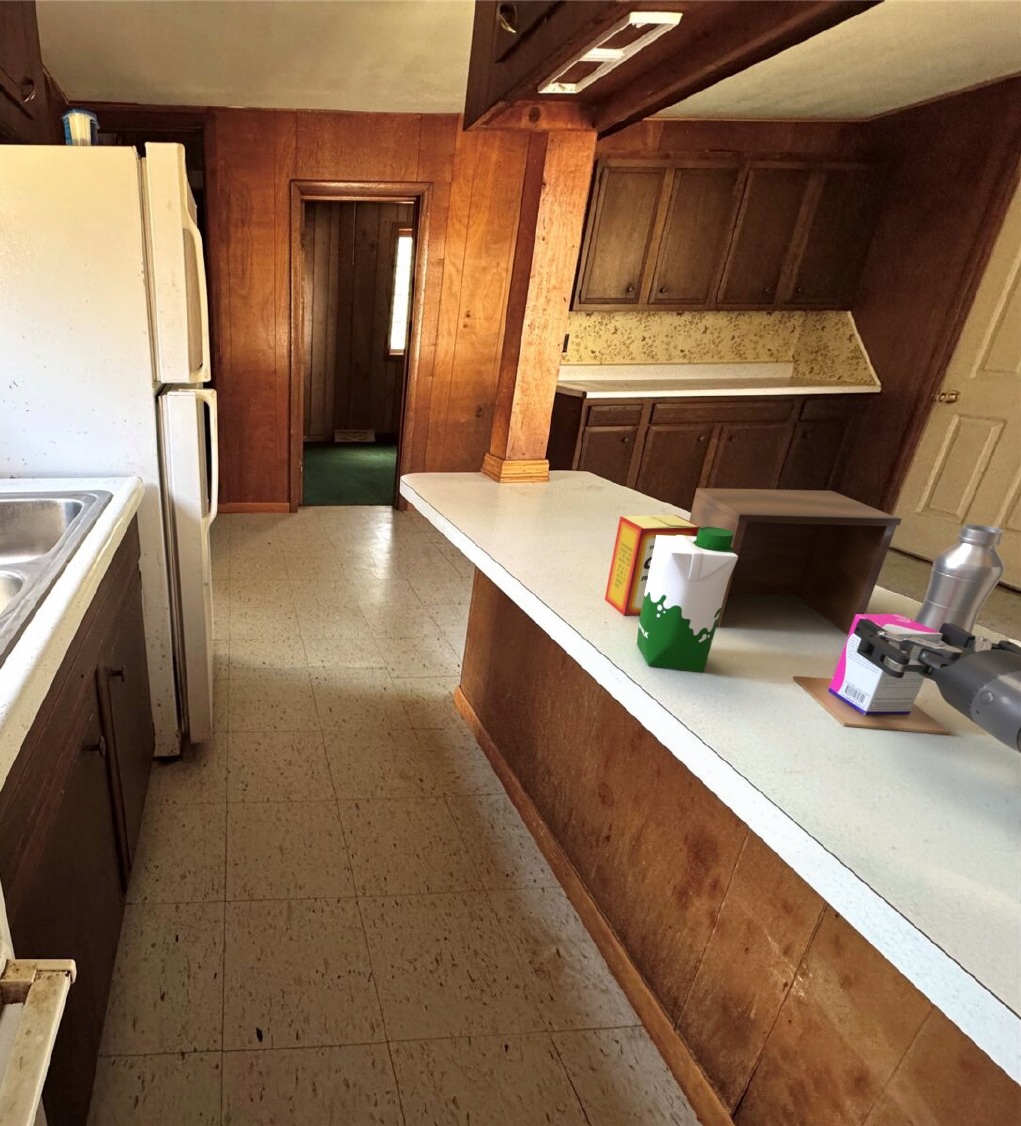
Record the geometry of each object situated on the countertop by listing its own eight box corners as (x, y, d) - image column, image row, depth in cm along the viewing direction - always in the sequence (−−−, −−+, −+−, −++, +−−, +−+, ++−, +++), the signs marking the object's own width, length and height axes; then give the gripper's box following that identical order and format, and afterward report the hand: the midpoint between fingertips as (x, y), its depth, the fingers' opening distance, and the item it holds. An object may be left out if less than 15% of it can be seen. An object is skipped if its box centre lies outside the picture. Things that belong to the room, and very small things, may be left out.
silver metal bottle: (897, 643, 94) (946, 517, 87) (962, 658, 89) (1019, 527, 82) (894, 659, 90) (946, 528, 82) (962, 676, 85) (1023, 540, 78)
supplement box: (912, 715, 77) (946, 633, 73) (863, 716, 77) (895, 634, 73) (870, 689, 82) (900, 612, 78) (825, 690, 83) (852, 613, 78)
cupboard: (859, 636, 96) (902, 518, 89) (710, 627, 100) (739, 514, 93) (800, 594, 111) (833, 490, 104) (672, 588, 115) (695, 487, 108)
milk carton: (713, 676, 87) (749, 543, 80) (641, 668, 90) (669, 538, 82) (693, 646, 95) (724, 522, 87) (627, 640, 97) (652, 519, 90)
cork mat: (885, 684, 84) (886, 682, 84) (950, 734, 74) (951, 732, 74) (792, 678, 86) (793, 675, 86) (843, 725, 76) (844, 723, 76)
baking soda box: (623, 615, 105) (641, 526, 99) (604, 599, 111) (620, 514, 105) (679, 614, 105) (701, 524, 99) (657, 598, 111) (676, 512, 105)
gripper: (921, 729, 63) (824, 650, 78) (1094, 743, 60) (960, 658, 75) (948, 665, 60) (842, 596, 75) (1132, 677, 57) (984, 603, 72)
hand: (901, 627), depth 75 cm, fingers open, 8 cm apart
